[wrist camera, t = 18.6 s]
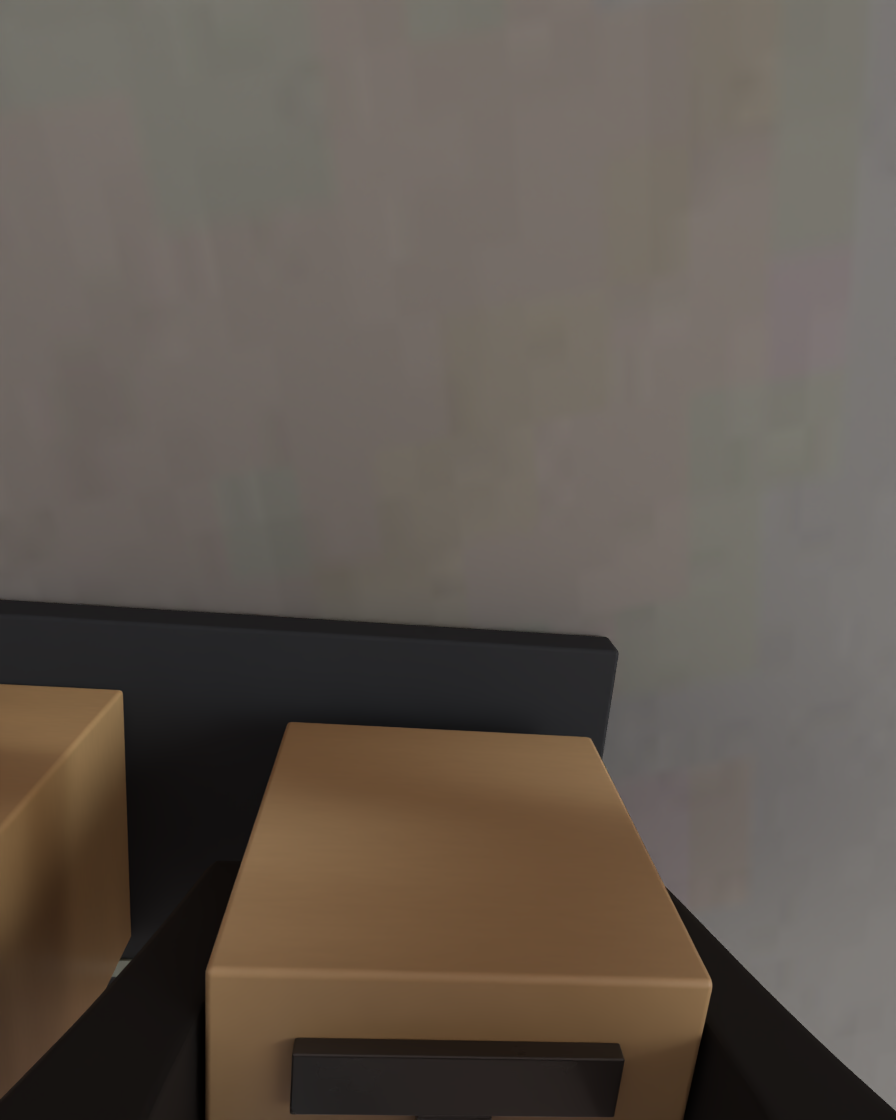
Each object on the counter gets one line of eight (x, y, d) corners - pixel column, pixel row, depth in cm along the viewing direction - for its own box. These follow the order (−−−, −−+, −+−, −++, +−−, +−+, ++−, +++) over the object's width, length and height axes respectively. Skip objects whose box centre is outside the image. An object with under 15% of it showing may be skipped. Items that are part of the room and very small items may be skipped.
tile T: (278, 973, 10) (197, 1361, 6) (287, 720, 9) (197, 989, 5) (554, 980, 11) (644, 1354, 7) (591, 735, 10) (726, 1001, 6)
